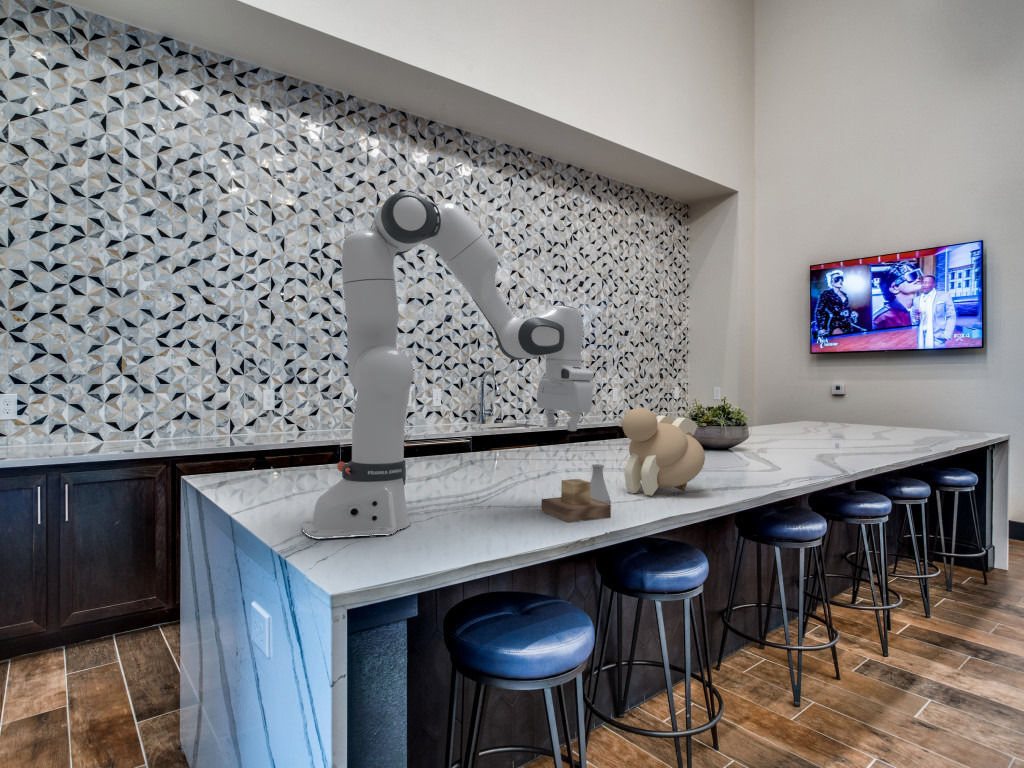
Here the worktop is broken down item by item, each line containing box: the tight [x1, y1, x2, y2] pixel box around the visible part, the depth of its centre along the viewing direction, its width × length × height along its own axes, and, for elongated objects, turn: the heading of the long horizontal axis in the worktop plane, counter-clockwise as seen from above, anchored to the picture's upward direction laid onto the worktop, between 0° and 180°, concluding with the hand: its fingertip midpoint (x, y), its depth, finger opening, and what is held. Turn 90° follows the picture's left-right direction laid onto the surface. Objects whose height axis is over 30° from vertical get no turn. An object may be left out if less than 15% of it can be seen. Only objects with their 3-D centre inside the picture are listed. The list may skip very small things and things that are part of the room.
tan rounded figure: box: [617, 407, 706, 496], centre depth 169 cm, size 30×28×23 cm
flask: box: [589, 463, 612, 504], centre depth 154 cm, size 7×7×10 cm
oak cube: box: [560, 478, 591, 505], centre depth 140 cm, size 5×5×5 cm
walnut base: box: [541, 496, 612, 523], centre depth 141 cm, size 12×12×3 cm
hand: (561, 428), depth 142 cm, fingers open, 8 cm apart
